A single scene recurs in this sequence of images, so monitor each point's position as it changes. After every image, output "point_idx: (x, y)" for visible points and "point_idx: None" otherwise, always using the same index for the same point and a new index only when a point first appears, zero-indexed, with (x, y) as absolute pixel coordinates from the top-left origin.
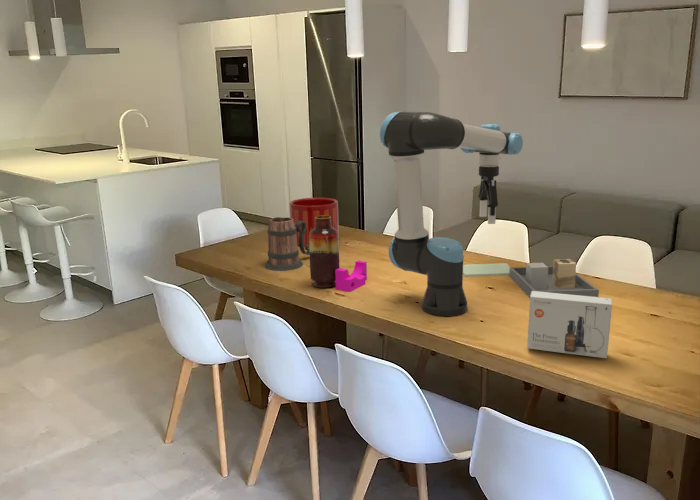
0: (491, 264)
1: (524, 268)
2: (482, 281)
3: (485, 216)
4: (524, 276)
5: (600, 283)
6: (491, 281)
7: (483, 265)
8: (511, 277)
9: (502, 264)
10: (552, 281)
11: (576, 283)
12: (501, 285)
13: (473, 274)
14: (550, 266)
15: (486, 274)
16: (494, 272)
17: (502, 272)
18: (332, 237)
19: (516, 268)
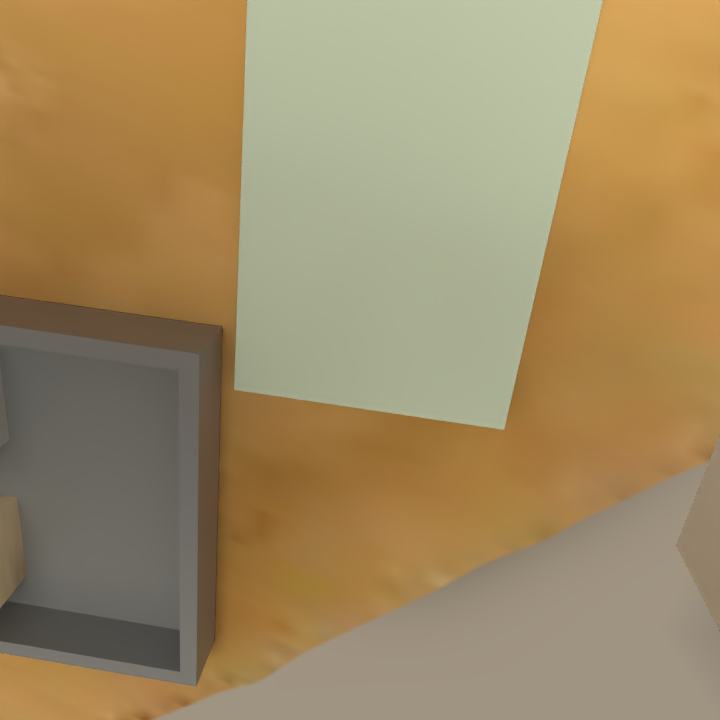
0: (504, 306)
1: (180, 447)
2: (117, 68)
3: (685, 528)
4: (168, 410)
5: (43, 696)
6: (112, 145)
7: (494, 228)
8: (165, 322)
9: (475, 387)
10: (8, 503)
11: (10, 601)
12: (11, 182)
13: (246, 31)
14: (186, 605)
15: (243, 157)
16: (271, 239)
17: (259, 299)
18: None
19: (179, 393)
